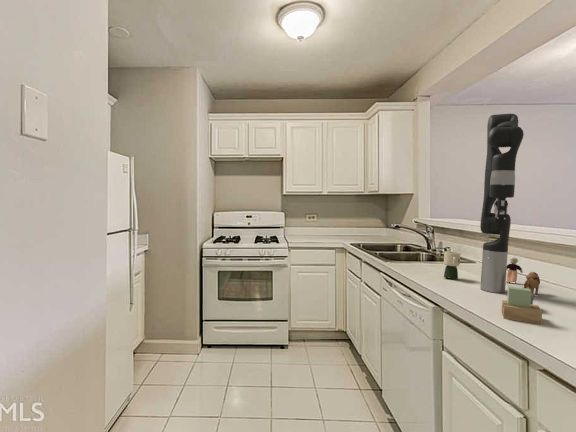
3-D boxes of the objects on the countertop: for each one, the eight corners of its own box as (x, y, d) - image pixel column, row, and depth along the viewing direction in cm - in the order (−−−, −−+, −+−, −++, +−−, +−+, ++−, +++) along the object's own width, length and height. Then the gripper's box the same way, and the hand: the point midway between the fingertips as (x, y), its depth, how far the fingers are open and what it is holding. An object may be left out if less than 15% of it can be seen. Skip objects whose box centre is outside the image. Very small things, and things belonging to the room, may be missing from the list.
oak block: (501, 311, 120) (502, 300, 120) (536, 317, 115) (537, 305, 115) (503, 318, 113) (504, 306, 112) (541, 324, 108) (542, 311, 108)
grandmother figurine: (504, 283, 166) (506, 256, 165) (502, 281, 169) (503, 255, 169) (523, 284, 164) (525, 258, 163) (519, 283, 168) (521, 256, 167)
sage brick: (508, 304, 114) (509, 288, 114) (507, 302, 117) (508, 286, 117) (530, 308, 111) (531, 291, 111) (528, 305, 114) (529, 288, 114)
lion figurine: (524, 290, 152) (526, 270, 152) (539, 293, 149) (541, 272, 149) (521, 297, 141) (522, 275, 141) (537, 299, 138) (538, 277, 137)
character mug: (461, 281, 165) (463, 254, 165) (445, 280, 167) (447, 253, 166) (455, 276, 176) (457, 251, 176) (440, 275, 178) (441, 250, 177)
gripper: (489, 184, 132) (486, 227, 133) (491, 182, 119) (488, 230, 120) (512, 185, 128) (509, 229, 129) (517, 183, 116) (514, 231, 117)
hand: (499, 229), depth 125 cm, fingers open, 8 cm apart
